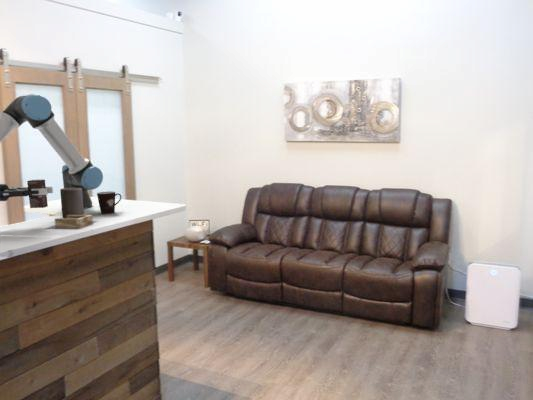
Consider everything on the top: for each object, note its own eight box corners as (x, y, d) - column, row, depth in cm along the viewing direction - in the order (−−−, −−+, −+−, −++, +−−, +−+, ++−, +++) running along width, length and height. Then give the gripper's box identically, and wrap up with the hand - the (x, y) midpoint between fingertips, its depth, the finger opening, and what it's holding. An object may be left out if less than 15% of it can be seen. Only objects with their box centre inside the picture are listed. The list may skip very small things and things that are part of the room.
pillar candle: (61, 220, 230) (58, 187, 228) (63, 216, 240) (61, 185, 237) (83, 218, 233) (81, 186, 231) (85, 215, 242) (82, 184, 240)
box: (29, 208, 215) (26, 180, 214) (35, 207, 220) (32, 179, 218) (43, 208, 215) (39, 180, 213) (48, 206, 219) (45, 179, 218)
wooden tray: (69, 222, 221) (68, 214, 221) (93, 222, 219) (92, 214, 218) (55, 227, 212) (54, 219, 211) (80, 227, 209) (79, 219, 209)
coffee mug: (99, 215, 240) (97, 194, 239) (98, 212, 248) (96, 192, 247) (124, 212, 245) (122, 192, 243) (122, 210, 252) (120, 190, 251)
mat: (67, 222, 225) (67, 221, 225) (97, 222, 222) (97, 221, 222) (44, 229, 209) (44, 228, 209) (76, 230, 206) (76, 229, 206)
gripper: (8, 198, 226) (59, 196, 225) (-14, 204, 209) (40, 202, 208) (6, 181, 225) (57, 179, 224) (-17, 186, 208) (38, 184, 207)
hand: (49, 190), depth 216 cm, fingers closed on box, 4 cm apart
